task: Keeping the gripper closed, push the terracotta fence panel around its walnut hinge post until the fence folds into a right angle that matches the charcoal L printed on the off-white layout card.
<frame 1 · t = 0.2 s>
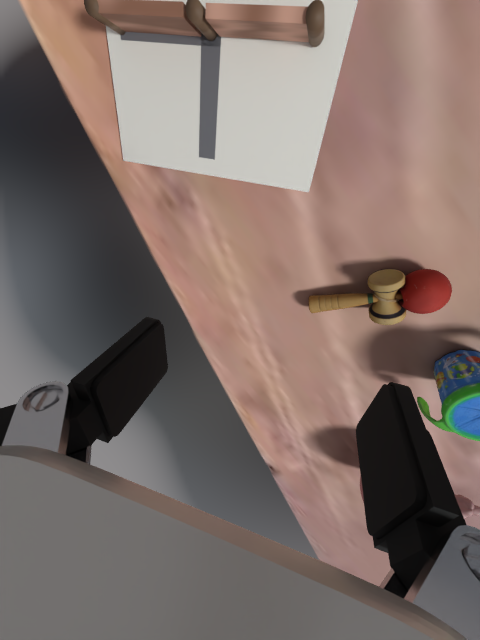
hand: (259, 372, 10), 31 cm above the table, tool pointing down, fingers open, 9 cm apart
kendama: (368, 291, 38), on the table
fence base: (212, 32, 27), resting on layout card
balloon: (404, 457, 55), on the table
layout card: (215, 64, 29), on the table
snack cup: (459, 365, 39), on the table
swing panel: (266, 23, 24), point 3 cm above the table, hinge at 0.0°
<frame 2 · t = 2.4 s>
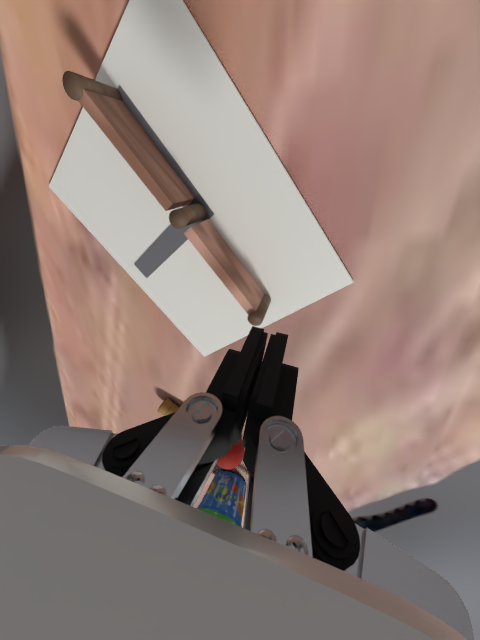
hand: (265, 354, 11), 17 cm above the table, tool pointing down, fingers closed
kendama: (206, 419, 47), on the table
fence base: (201, 210, 25), resting on layout card
layout card: (189, 229, 27), on the table
snack cup: (231, 476, 56), on the table
swing panel: (232, 272, 25), point 3 cm above the table, hinge at 0.0°
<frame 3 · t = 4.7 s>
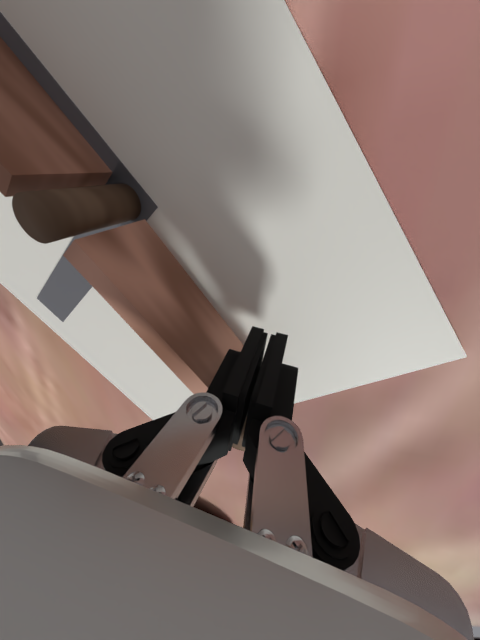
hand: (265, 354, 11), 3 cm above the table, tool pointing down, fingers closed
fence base: (132, 201, 12), resting on layout card
layout card: (117, 239, 13), on the table
swing panel: (194, 336, 12), point 3 cm above the table, hinge at -2.6°, touching gripper
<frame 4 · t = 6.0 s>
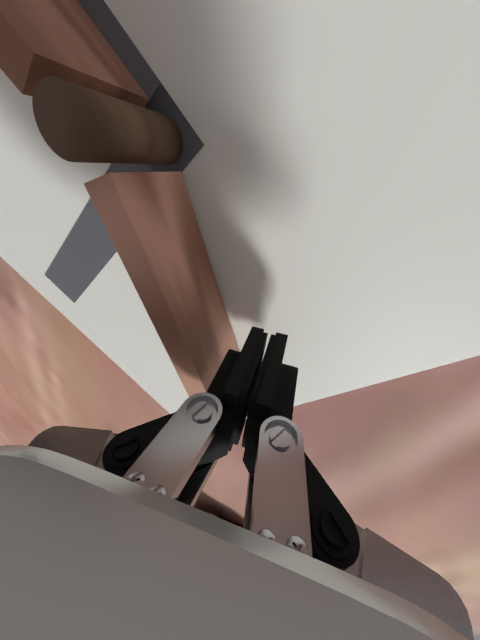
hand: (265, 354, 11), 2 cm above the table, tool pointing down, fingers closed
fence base: (169, 141, 10), resting on layout card
layout card: (146, 194, 11), on the table
swing panel: (196, 320, 11), point 3 cm above the table, hinge at -24.6°, touching gripper
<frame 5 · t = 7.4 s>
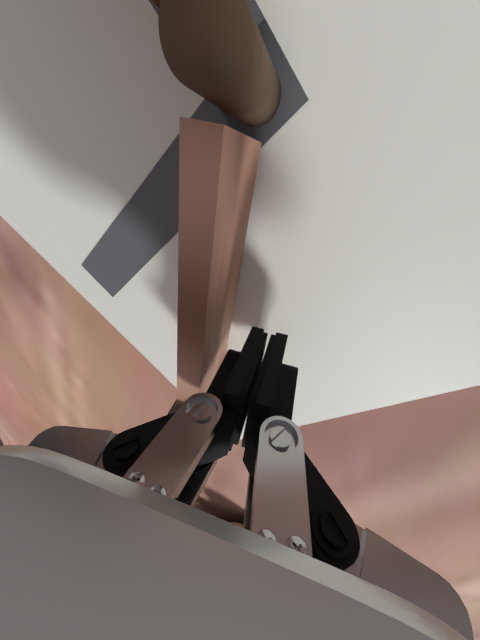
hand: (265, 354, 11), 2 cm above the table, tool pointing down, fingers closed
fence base: (259, 99, 8), resting on layout card
layout card: (218, 167, 10), on the table
swing panel: (210, 307, 10), point 3 cm above the table, hinge at -48.7°, touching gripper
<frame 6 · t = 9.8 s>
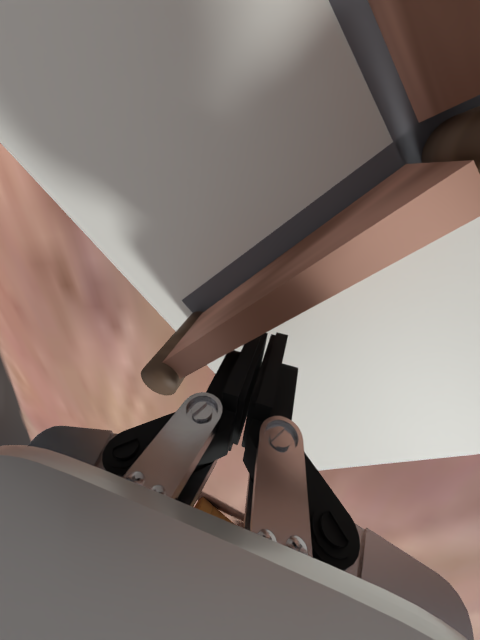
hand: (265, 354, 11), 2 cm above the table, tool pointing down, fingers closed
kendama: (264, 528, 29), on the table
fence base: (447, 148, 8), resting on layout card
layout card: (372, 213, 9), on the table
swing panel: (262, 296, 9), point 3 cm above the table, hinge at -87.7°, touching gripper
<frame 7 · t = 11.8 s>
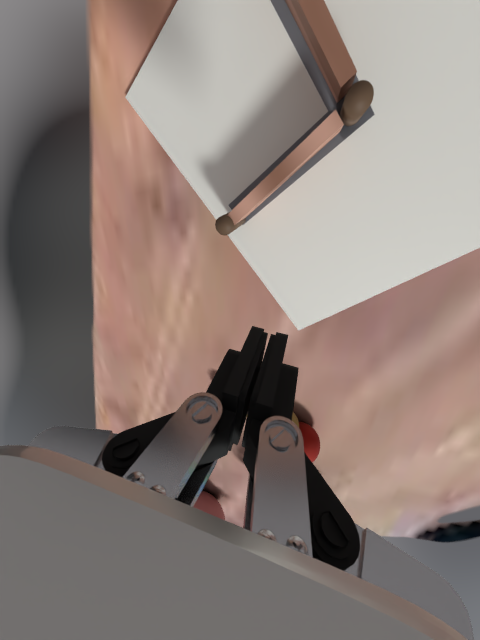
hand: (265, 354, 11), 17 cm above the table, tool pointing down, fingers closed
kendama: (268, 407, 40), on the table
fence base: (350, 113, 18), resting on layout card
balloon: (214, 497, 65), on the table
layout card: (324, 145, 20), on the table
swing panel: (273, 182, 20), point 3 cm above the table, hinge at -88.4°
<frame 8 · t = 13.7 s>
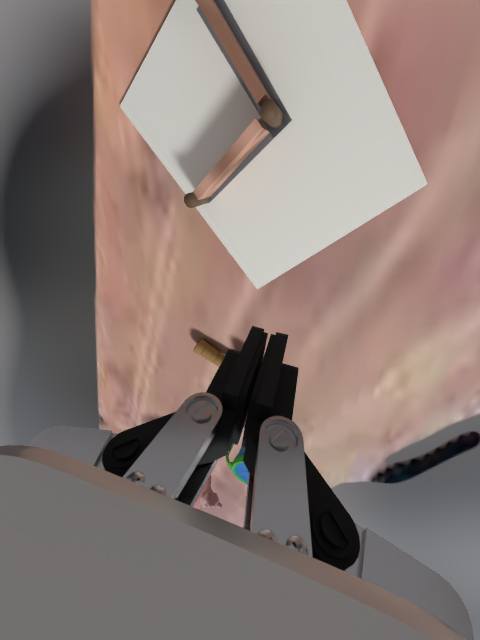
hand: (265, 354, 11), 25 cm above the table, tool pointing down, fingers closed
kendama: (240, 361, 48), on the table
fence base: (277, 119, 26), resting on layout card
balloon: (202, 456, 73), on the table
layout card: (261, 142, 28), on the table
snack cup: (265, 431, 57), on the table
swing panel: (224, 168, 27), point 3 cm above the table, hinge at -88.4°
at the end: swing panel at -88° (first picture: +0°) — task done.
